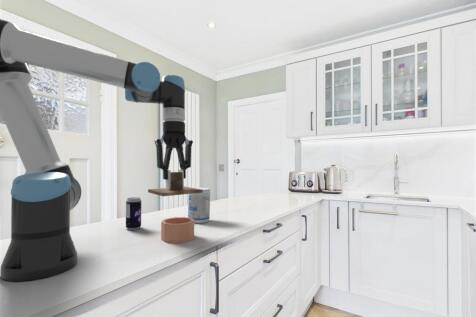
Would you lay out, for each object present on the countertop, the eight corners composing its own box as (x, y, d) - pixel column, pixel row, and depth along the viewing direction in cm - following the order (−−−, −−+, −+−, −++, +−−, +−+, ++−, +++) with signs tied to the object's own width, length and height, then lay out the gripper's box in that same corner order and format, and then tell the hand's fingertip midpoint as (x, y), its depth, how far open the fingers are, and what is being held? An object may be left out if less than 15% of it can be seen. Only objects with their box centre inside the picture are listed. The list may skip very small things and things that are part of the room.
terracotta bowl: (169, 244, 83) (169, 226, 83) (156, 236, 92) (157, 219, 92) (199, 238, 90) (199, 221, 90) (185, 231, 98) (185, 216, 99)
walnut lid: (162, 196, 81) (162, 173, 81) (148, 192, 92) (147, 172, 92) (202, 192, 89) (202, 172, 89) (184, 189, 100) (184, 171, 100)
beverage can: (135, 230, 100) (136, 199, 100) (122, 229, 101) (122, 198, 101) (143, 227, 105) (144, 197, 105) (131, 226, 106) (131, 196, 106)
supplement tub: (183, 222, 114) (183, 188, 114) (196, 218, 122) (196, 186, 123) (201, 224, 110) (201, 189, 110) (214, 220, 118) (214, 187, 118)
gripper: (153, 117, 83) (154, 191, 83) (201, 122, 93) (201, 187, 93) (145, 120, 89) (146, 189, 88) (191, 124, 99) (191, 186, 99)
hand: (174, 188), depth 91 cm, fingers closed on walnut lid, 4 cm apart
